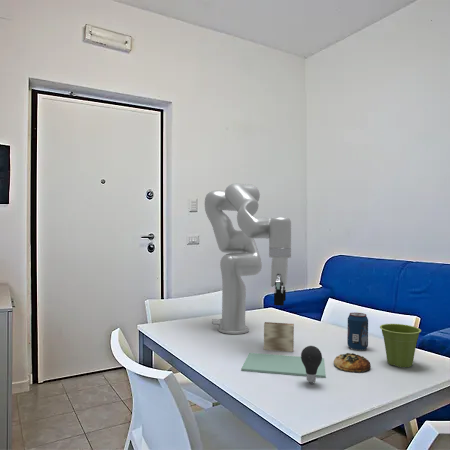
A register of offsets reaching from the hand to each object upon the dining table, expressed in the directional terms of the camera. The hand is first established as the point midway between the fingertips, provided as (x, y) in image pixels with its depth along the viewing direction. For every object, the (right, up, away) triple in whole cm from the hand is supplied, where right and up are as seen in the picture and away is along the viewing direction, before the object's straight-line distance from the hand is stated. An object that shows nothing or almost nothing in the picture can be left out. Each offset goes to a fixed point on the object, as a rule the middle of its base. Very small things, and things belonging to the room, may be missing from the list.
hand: (280, 303), depth 141 cm
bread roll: (+20, -17, -16) cm, 30 cm away
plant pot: (+36, -17, -14) cm, 41 cm away
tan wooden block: (0, -16, 0) cm, 16 cm away
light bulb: (+4, -16, -30) cm, 35 cm away
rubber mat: (-1, -16, -16) cm, 23 cm away
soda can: (+28, -17, +3) cm, 33 cm away
